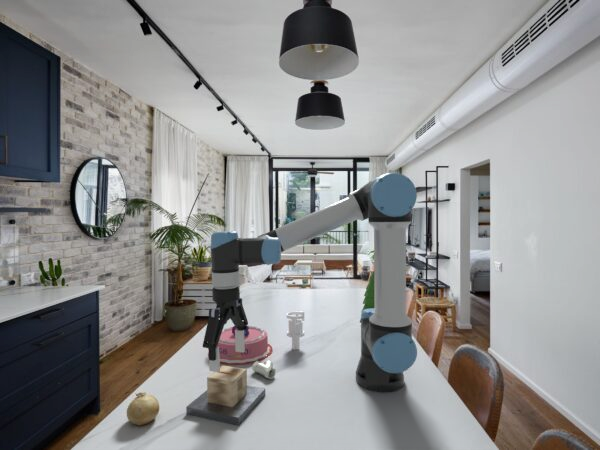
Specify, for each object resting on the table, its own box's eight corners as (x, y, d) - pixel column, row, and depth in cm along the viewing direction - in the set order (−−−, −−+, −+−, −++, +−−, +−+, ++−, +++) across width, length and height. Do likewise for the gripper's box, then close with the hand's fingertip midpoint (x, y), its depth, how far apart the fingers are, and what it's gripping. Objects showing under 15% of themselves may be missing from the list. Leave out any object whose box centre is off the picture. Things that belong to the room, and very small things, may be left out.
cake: (196, 363, 129) (195, 334, 129) (223, 339, 154) (223, 314, 154) (262, 368, 125) (261, 338, 124) (279, 342, 149) (279, 317, 149)
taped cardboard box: (207, 402, 98) (207, 376, 98) (223, 388, 106) (222, 364, 106) (232, 407, 96) (232, 380, 95) (247, 392, 103) (246, 368, 103)
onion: (164, 411, 98) (163, 386, 97) (153, 429, 90) (152, 401, 89) (134, 412, 97) (133, 387, 97) (121, 430, 89) (120, 402, 89)
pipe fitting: (267, 368, 125) (252, 373, 120) (267, 357, 125) (252, 361, 120) (282, 375, 120) (267, 381, 115) (283, 364, 120) (267, 368, 115)
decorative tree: (387, 340, 150) (387, 269, 148) (371, 345, 144) (371, 272, 143) (370, 334, 158) (370, 266, 156) (354, 338, 152) (354, 269, 151)
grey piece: (265, 394, 106) (265, 369, 106) (238, 425, 91) (238, 395, 91) (218, 386, 111) (218, 362, 111) (186, 414, 96) (185, 386, 96)
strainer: (302, 352, 138) (302, 314, 137) (285, 351, 139) (284, 313, 139) (306, 345, 145) (305, 309, 144) (289, 344, 146) (288, 308, 146)
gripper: (236, 277, 113) (238, 343, 114) (186, 295, 89) (189, 378, 90) (257, 278, 110) (259, 346, 111) (212, 297, 87) (215, 382, 88)
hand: (228, 360), depth 101 cm, fingers open, 13 cm apart
